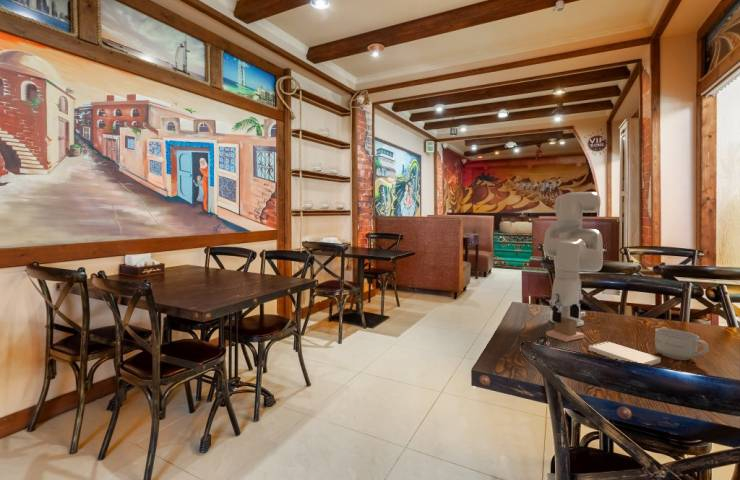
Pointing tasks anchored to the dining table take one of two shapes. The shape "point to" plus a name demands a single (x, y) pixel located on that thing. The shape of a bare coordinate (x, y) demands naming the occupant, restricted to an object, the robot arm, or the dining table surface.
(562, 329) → the stub
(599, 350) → the ticket pad
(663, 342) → the teacup
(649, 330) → the dining table surface
